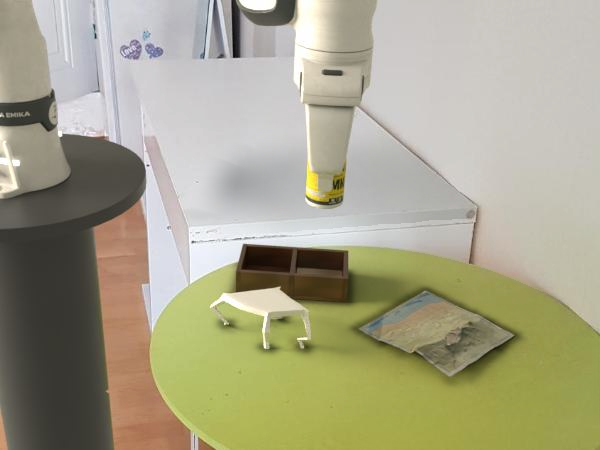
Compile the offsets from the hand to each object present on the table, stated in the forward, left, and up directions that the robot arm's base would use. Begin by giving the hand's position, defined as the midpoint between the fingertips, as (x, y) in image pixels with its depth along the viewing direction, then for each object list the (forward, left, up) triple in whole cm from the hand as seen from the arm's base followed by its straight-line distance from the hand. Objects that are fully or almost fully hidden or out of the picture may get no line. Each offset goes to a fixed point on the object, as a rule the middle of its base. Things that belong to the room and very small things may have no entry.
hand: (325, 179), depth 92 cm
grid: (-3, 0, -15) cm, 16 cm away
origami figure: (-7, -11, -15) cm, 20 cm away
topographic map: (+15, -9, -15) cm, 23 cm away
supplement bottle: (0, 0, -3) cm, 3 cm away
